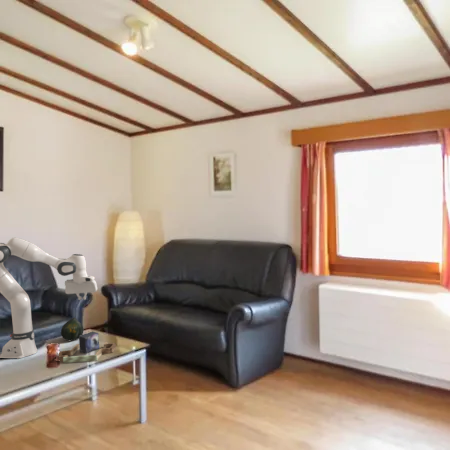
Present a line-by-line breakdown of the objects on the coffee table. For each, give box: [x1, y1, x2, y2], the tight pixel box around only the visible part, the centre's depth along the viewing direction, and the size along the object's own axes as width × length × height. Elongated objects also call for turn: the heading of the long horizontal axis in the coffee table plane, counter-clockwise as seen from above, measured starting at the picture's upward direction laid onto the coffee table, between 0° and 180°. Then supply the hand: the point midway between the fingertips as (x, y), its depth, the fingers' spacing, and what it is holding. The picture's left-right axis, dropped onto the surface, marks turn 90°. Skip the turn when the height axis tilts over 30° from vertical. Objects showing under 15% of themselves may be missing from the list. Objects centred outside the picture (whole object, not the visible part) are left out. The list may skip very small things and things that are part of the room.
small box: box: [78, 331, 101, 355], centre depth 282 cm, size 11×6×10 cm, turn 143°
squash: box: [60, 317, 84, 341], centre depth 310 cm, size 14×15×15 cm
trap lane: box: [58, 341, 117, 364], centre depth 276 cm, size 32×25×3 cm
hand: (82, 299), depth 297 cm, fingers closed
